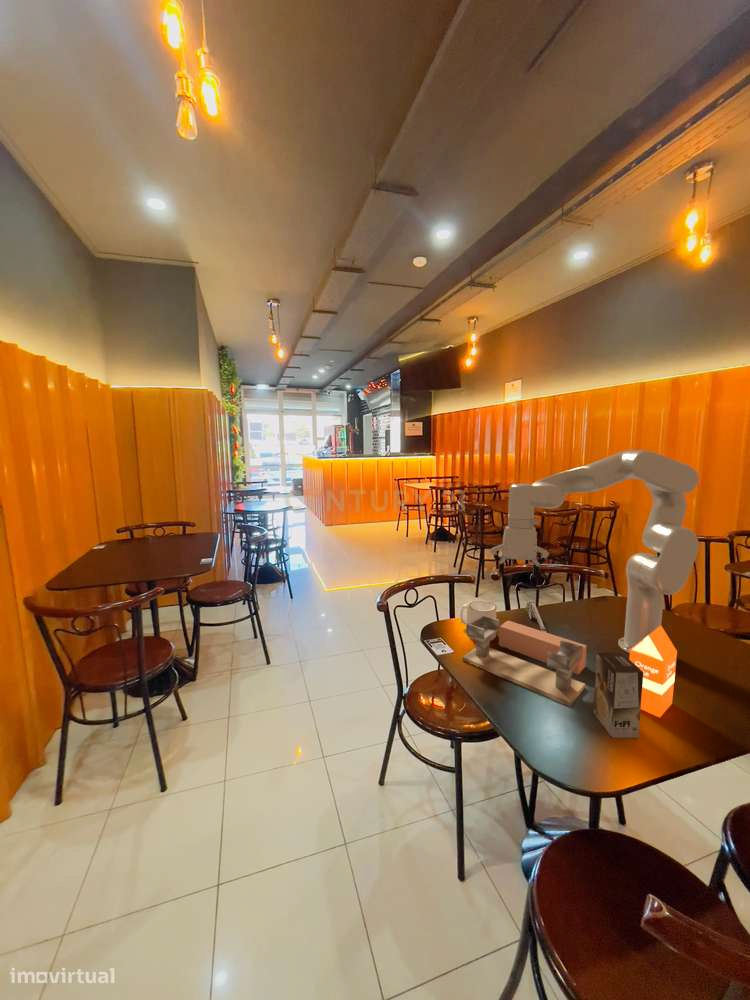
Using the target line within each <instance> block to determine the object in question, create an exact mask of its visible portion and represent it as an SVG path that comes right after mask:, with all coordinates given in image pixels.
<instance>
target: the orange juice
mask: <svg viewBox="0 0 750 1000" xmlns="http://www.w3.org/2000/svg"><path fill="white" fill-rule="evenodd" d="M676 649H677V648H676V647H675V646H674V644H673V642H672V641H671V639H670V637H669V636H668V634H667V632H666V631H665V629H664V628H663V626H662V625H661V626H660V627H658V628H657V629H656V630H654V631H653V632H652V633H651V634H649V635H648V636H647V637H646V638H644V639H643V640H642V641H640V643H638V644H637V645H636V646H634V647H633V648H632V649H631V650H630V653H629V657H628V659H629V660H630V661H631V662H633V663H634V664H635V665H636V666H637V667H638V668H639V669H640V670H642V671H643V672H644V673H643V685H642V697H641V710H642V711H645V712H646V713H648V714H650V715H653V716H655V717H658V718H661V717H662V716H663V715H664V713H665V712H666V711H667V710H668V709H669V708H670V707H671V705H673V696H674V686H675V680H676V679H675V677H676V668H677V657H678V656H677V655H678V650H676Z"/></svg>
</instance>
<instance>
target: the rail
mask: <svg viewBox="0 0 750 1000" xmlns="http://www.w3.org/2000/svg"><path fill="white" fill-rule="evenodd" d="M561 640H564V641H567V642H570V643H573V644H576V645H579V646H582V647H583V657H582V660H581V661H580V662H579V663H578V664H577V665H576V666H575V667H574V669H573V670H572V674H576V675H579V674H581V672H582V671H583V670H584V669H585V668H586V663H587V662H586V660H587V644H584V643H580V642H577V641H574V640H570V639H567V638H564V637H561V636H559V635H554V634H552V633H549V632H547V633H546V632H543V631H542V630H541V629H540V630H539V629H536V628H533V627H529V626H527V625H524V624H520V623H517V622H514V621H511V620H506V621H504V623H502V624H500V625H499V631H498V646H499V645H500V647H502V648H505V647H506V648H505V649H507V648H508V649H507V650H510V651H513V652H516V653H518V652H519V654H521V655H524V656H527V657H529V658H532V659H536V660H538V661H540V662H543V663H545V664H547V654H548V652H552V653H555V654H557V653H558V652H559V651H560V641H561Z"/></svg>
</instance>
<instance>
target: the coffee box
mask: <svg viewBox="0 0 750 1000" xmlns="http://www.w3.org/2000/svg"><path fill="white" fill-rule="evenodd" d="M595 659H596V660H595V676H594V693H593V710H592V712H593V714H594V716H595V717H596V718H597V719H598V721H599V723H601V725H602V727H603V728H604V729H605V731H606V732H608V734H609V735H610V736H611V738H622V739H623V738H625V739H627V738H632V739H633V738H635V739H637V738H639V734H640V733H639V732H640V721H641V720H640V719H641V710H642V709H641V697H642V685H643V673H644V672H643V671H642V670H640V669H639V668H638V667H637V666H636V665H635V664H634V663H633V662H631V661H630V660H629V657H627V656H626V655H625V654H624V653H623V652H622V651H621V652H620V651H615V652H614V651H610V652H609V651H606V652H605V651H604V652H596V657H595Z"/></svg>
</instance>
